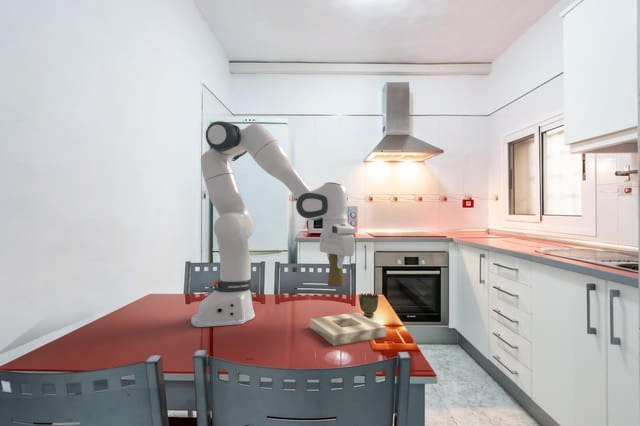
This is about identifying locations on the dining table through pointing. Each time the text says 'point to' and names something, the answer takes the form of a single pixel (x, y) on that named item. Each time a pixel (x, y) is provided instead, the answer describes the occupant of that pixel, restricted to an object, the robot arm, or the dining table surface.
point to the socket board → (347, 328)
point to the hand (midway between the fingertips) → (335, 267)
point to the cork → (335, 273)
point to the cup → (368, 304)
